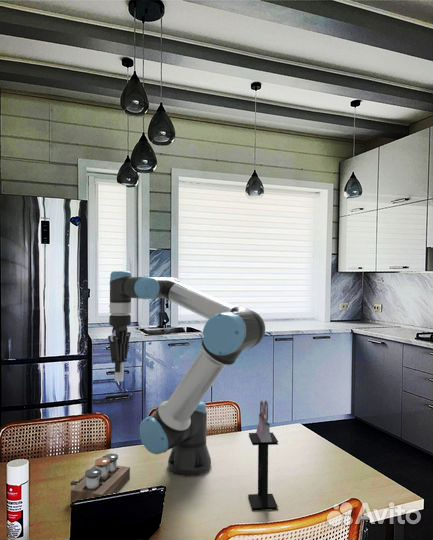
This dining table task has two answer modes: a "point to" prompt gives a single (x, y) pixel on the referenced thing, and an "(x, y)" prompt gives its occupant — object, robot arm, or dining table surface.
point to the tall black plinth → (263, 462)
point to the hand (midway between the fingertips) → (119, 380)
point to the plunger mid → (103, 468)
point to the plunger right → (112, 463)
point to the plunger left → (92, 479)
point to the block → (102, 485)
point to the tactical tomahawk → (82, 477)
